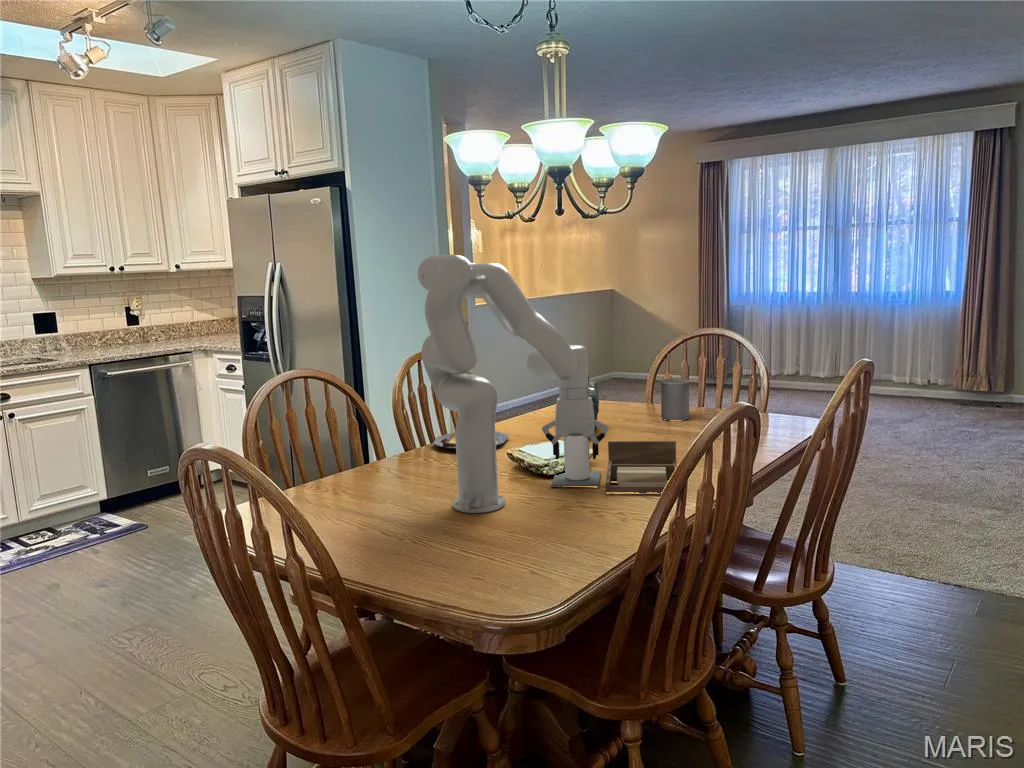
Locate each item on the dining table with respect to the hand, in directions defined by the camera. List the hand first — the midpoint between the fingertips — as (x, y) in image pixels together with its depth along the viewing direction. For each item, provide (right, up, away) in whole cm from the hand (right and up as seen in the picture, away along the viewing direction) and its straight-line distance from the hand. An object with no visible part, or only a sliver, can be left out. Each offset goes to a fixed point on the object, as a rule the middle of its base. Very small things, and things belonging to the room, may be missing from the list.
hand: (576, 457), depth 197 cm
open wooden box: (+17, -6, -2) cm, 18 cm away
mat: (0, -6, +1) cm, 6 cm away
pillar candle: (+41, +7, +69) cm, 81 cm away
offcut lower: (+16, -7, -6) cm, 19 cm away
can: (+1, -5, +1) cm, 6 cm away
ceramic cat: (+9, +2, +52) cm, 52 cm away
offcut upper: (+16, -5, -7) cm, 18 cm away
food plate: (-30, -1, +46) cm, 55 cm away
